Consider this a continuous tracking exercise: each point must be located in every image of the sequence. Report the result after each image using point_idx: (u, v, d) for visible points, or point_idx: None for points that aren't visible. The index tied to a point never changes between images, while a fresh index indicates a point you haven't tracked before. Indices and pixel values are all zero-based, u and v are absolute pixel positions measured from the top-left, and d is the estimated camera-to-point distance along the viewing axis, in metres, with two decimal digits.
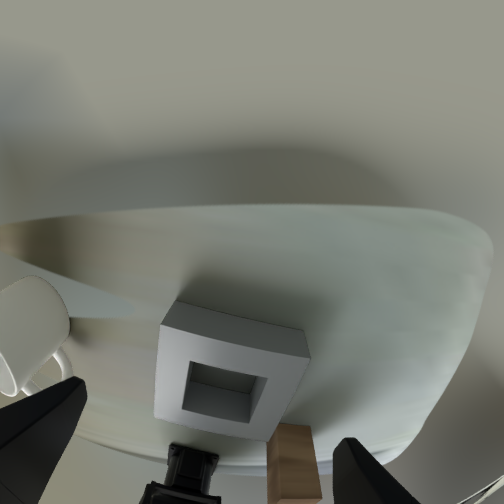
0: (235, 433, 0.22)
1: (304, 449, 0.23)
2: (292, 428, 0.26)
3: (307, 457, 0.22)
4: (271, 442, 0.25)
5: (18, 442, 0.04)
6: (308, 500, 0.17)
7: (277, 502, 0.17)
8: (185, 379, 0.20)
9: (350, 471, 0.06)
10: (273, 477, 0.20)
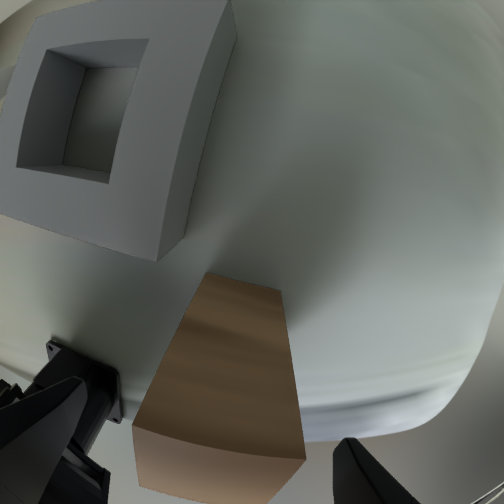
0: (86, 229, 0.10)
1: (260, 320, 0.11)
2: (238, 285, 0.14)
3: (264, 335, 0.10)
4: None
5: (18, 442, 0.04)
6: (249, 460, 0.05)
7: (136, 448, 0.05)
8: (32, 88, 0.08)
9: (350, 471, 0.06)
10: None
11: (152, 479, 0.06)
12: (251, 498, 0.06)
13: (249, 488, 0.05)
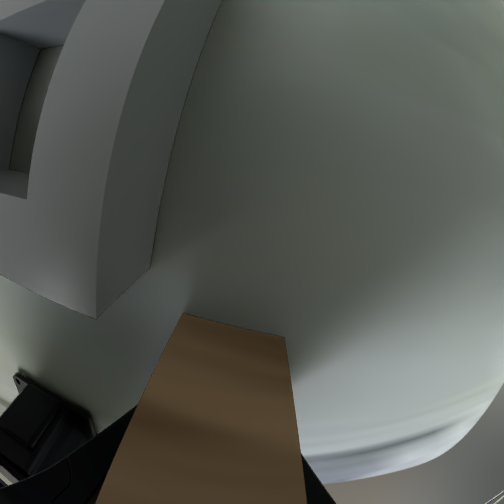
0: (9, 264, 0.06)
1: (256, 397, 0.07)
2: (226, 333, 0.10)
3: (262, 427, 0.06)
4: None
5: (98, 488, 0.04)
6: None
7: None
8: None
9: None
10: None
11: None
12: None
13: None
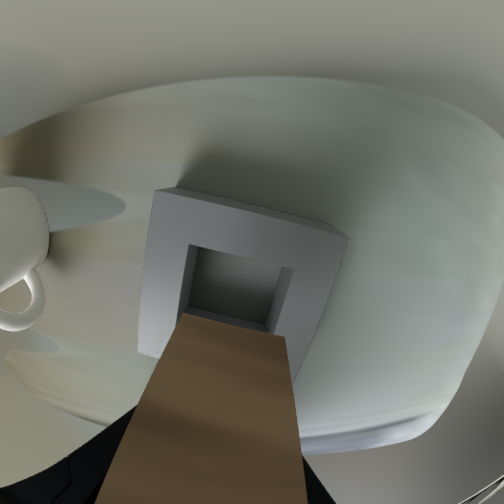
0: None
1: (257, 397, 0.07)
2: (227, 332, 0.10)
3: (262, 427, 0.06)
4: None
5: (98, 488, 0.04)
6: None
7: None
8: (181, 278, 0.16)
9: None
10: None
11: None
12: None
13: None
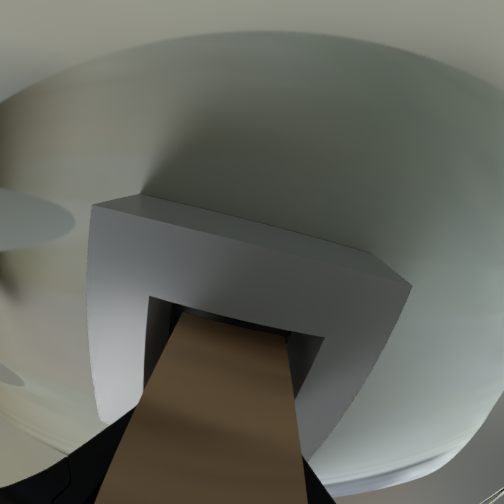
0: None
1: (257, 397, 0.07)
2: (227, 332, 0.10)
3: (263, 427, 0.06)
4: None
5: (98, 488, 0.04)
6: None
7: None
8: (143, 344, 0.09)
9: None
10: None
11: None
12: None
13: None
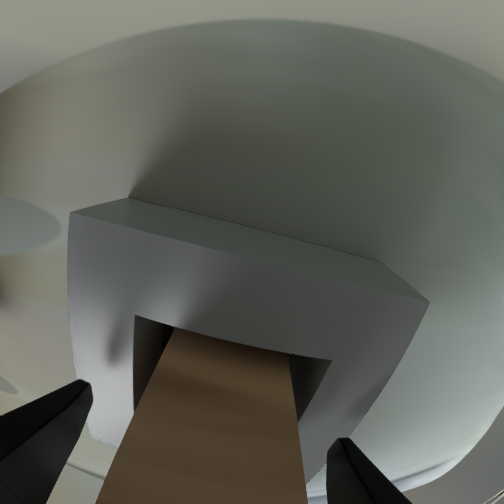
0: None
1: (257, 365, 0.08)
2: None
3: (262, 389, 0.07)
4: None
5: (25, 447, 0.04)
6: None
7: None
8: (131, 365, 0.08)
9: (343, 471, 0.06)
10: None
11: None
12: None
13: None
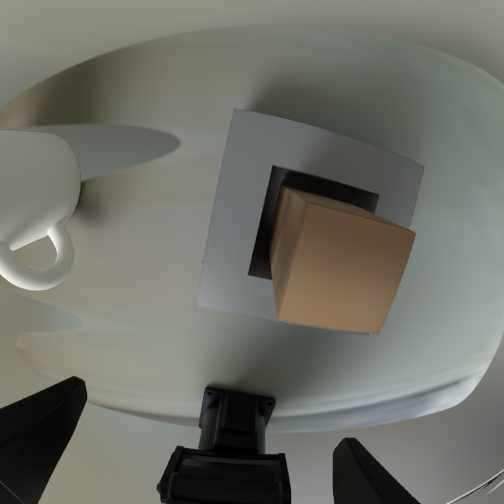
0: None
1: (338, 201, 0.14)
2: (309, 191, 0.17)
3: (347, 204, 0.13)
4: (275, 219, 0.17)
5: (18, 443, 0.04)
6: (384, 232, 0.08)
7: (301, 240, 0.09)
8: (261, 204, 0.14)
9: (350, 471, 0.06)
10: (283, 235, 0.12)
11: (298, 294, 0.09)
12: (377, 306, 0.09)
13: (379, 282, 0.09)
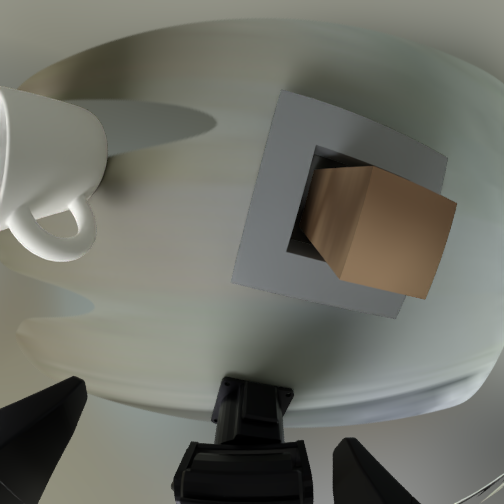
0: (357, 303, 0.16)
1: None
2: None
3: None
4: (310, 201, 0.17)
5: (18, 442, 0.04)
6: (432, 199, 0.08)
7: (366, 199, 0.09)
8: (304, 182, 0.14)
9: (350, 471, 0.06)
10: (332, 207, 0.12)
11: (361, 253, 0.09)
12: (425, 269, 0.09)
13: (428, 247, 0.09)
